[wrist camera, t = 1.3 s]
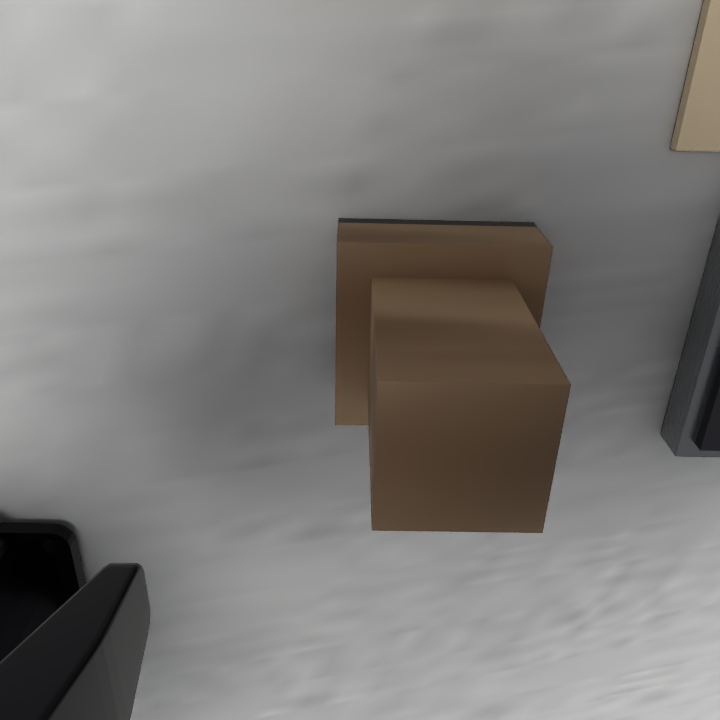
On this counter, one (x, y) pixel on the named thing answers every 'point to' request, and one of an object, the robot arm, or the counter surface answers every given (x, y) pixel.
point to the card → (701, 88)
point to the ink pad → (699, 374)
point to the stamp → (449, 371)
